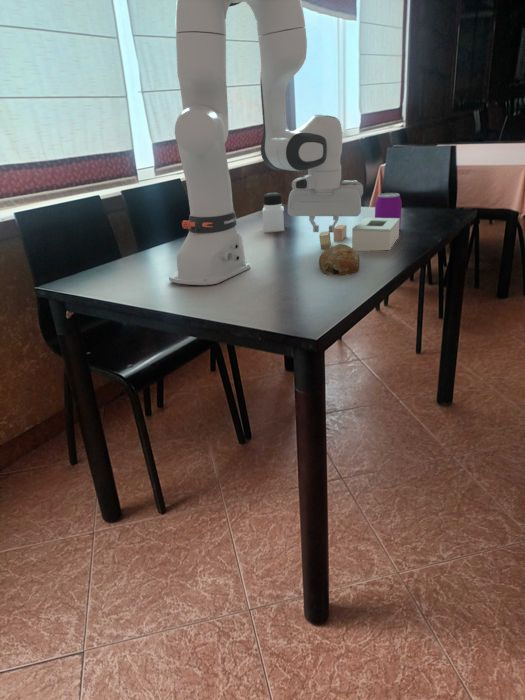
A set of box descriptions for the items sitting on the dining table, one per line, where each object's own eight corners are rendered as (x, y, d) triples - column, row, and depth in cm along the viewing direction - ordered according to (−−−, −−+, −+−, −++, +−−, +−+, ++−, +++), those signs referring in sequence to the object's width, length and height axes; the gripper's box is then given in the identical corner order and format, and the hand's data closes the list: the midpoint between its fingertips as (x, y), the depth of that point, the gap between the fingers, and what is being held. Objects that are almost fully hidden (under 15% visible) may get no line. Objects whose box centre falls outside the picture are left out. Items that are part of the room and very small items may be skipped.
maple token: (330, 250, 139) (328, 234, 137) (321, 251, 139) (319, 235, 137) (331, 245, 143) (329, 230, 141) (322, 247, 144) (320, 231, 142)
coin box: (389, 255, 131) (390, 229, 128) (352, 254, 135) (352, 228, 131) (398, 242, 142) (399, 218, 139) (364, 241, 146) (364, 217, 143)
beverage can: (399, 231, 154) (401, 191, 149) (400, 237, 147) (403, 196, 142) (373, 232, 155) (375, 193, 150) (374, 238, 149) (375, 197, 143)
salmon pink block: (341, 244, 145) (341, 228, 143) (333, 243, 146) (333, 228, 144) (346, 239, 149) (346, 225, 147) (338, 239, 150) (338, 224, 148)
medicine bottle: (284, 231, 165) (283, 194, 160) (263, 232, 165) (261, 195, 160) (284, 226, 171) (282, 191, 166) (264, 228, 172) (261, 192, 166)
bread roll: (317, 286, 121) (312, 264, 115) (325, 256, 127) (321, 233, 120) (357, 289, 118) (354, 265, 112) (364, 257, 123) (361, 234, 117)
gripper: (364, 178, 134) (361, 229, 140) (290, 179, 138) (290, 229, 144) (363, 182, 128) (360, 235, 135) (286, 182, 133) (286, 234, 139)
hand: (323, 232), depth 140 cm, fingers open, 3 cm apart
